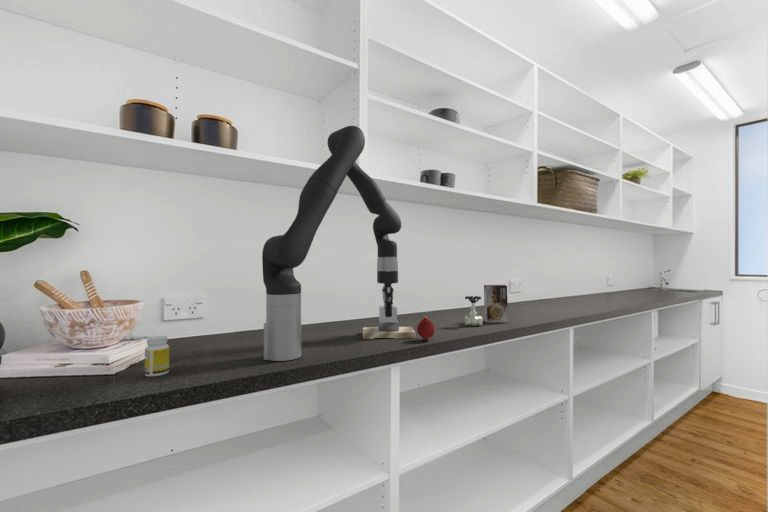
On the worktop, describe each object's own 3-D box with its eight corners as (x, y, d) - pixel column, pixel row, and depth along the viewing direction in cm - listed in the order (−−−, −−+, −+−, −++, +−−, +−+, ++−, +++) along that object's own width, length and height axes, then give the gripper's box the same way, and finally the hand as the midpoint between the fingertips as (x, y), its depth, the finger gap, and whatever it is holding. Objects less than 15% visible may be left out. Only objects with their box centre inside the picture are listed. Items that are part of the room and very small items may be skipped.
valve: (483, 327, 142) (483, 297, 142) (467, 327, 142) (466, 297, 142) (479, 324, 148) (479, 295, 149) (463, 324, 148) (463, 296, 149)
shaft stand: (362, 339, 120) (362, 294, 120) (363, 332, 132) (362, 292, 132) (415, 338, 121) (414, 294, 121) (411, 331, 133) (410, 291, 133)
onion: (438, 339, 118) (437, 315, 118) (430, 342, 113) (429, 317, 113) (422, 338, 121) (422, 314, 121) (414, 340, 116) (413, 316, 116)
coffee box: (505, 320, 158) (504, 284, 159) (508, 322, 152) (507, 285, 152) (484, 320, 159) (483, 284, 160) (486, 322, 153) (486, 285, 153)
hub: (379, 322, 123) (379, 308, 124) (379, 320, 129) (379, 306, 129) (397, 322, 124) (396, 307, 124) (395, 319, 130) (395, 306, 130)
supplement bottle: (173, 370, 84) (173, 335, 85) (161, 376, 80) (161, 339, 80) (152, 371, 84) (153, 335, 85) (139, 377, 79) (140, 339, 80)
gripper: (376, 270, 134) (377, 313, 134) (377, 270, 120) (378, 318, 119) (396, 269, 134) (396, 312, 134) (399, 269, 120) (400, 317, 120)
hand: (388, 315), depth 127 cm, fingers open, 8 cm apart
